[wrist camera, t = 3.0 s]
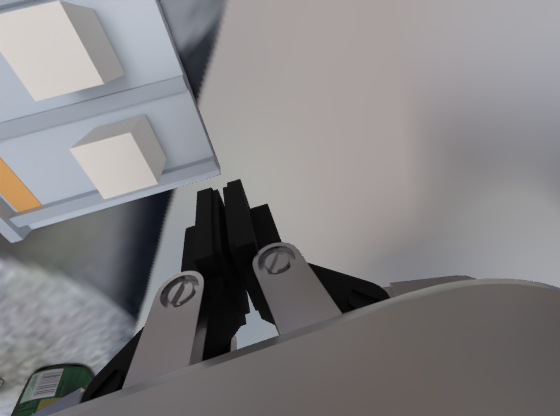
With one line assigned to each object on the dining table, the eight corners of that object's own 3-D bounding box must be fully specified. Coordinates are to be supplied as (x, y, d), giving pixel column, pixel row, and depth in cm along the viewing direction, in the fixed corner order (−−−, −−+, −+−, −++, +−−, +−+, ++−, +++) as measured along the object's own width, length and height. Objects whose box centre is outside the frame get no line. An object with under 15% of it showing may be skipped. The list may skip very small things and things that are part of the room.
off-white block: (93, 8, 18) (58, 0, 14) (125, 74, 20) (104, 84, 16) (31, 23, 17) (-23, 19, 13) (71, 88, 20) (35, 101, 16)
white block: (144, 114, 22) (130, 132, 18) (166, 158, 24) (158, 183, 20) (95, 127, 21) (68, 148, 17) (122, 171, 24) (104, 199, 20)
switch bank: (70, -239, 14) (32, -315, 11) (219, 166, 28) (221, 182, 25) (-337, -172, 13) (-509, -237, 10) (32, 220, 26) (9, 244, 23)
